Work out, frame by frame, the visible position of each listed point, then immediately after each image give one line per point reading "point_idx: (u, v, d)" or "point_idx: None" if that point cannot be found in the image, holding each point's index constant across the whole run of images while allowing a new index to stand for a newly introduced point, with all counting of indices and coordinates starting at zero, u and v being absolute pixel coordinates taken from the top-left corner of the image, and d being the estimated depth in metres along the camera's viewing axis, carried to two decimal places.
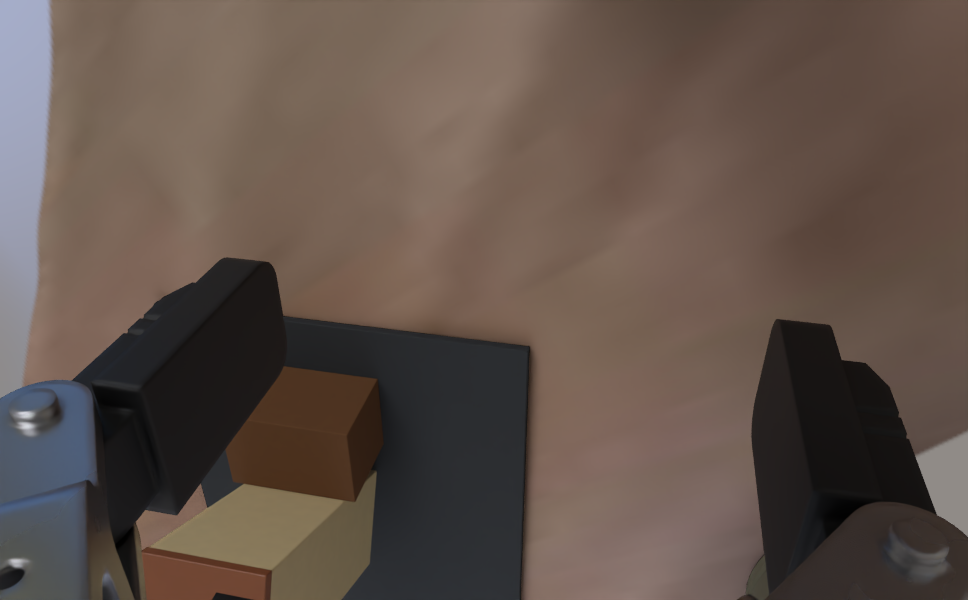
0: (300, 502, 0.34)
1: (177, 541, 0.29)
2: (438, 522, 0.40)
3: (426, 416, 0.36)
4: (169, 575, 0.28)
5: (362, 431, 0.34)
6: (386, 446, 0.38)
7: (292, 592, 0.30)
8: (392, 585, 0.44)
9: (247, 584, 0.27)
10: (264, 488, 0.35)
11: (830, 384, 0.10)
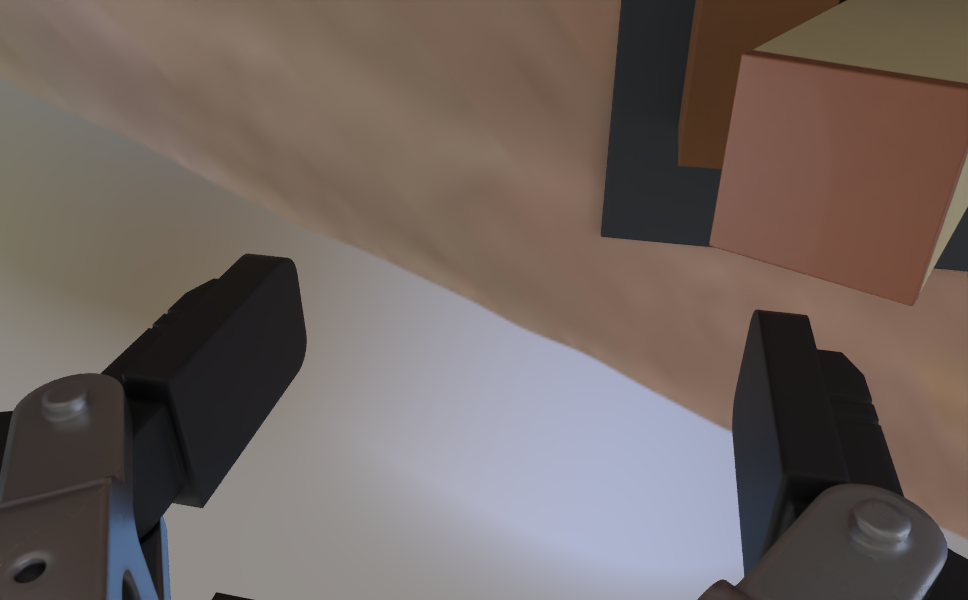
0: None
1: None
2: None
3: None
4: (741, 208, 0.19)
5: None
6: None
7: (853, 45, 0.19)
8: None
9: (754, 86, 0.18)
10: None
11: (804, 372, 0.10)
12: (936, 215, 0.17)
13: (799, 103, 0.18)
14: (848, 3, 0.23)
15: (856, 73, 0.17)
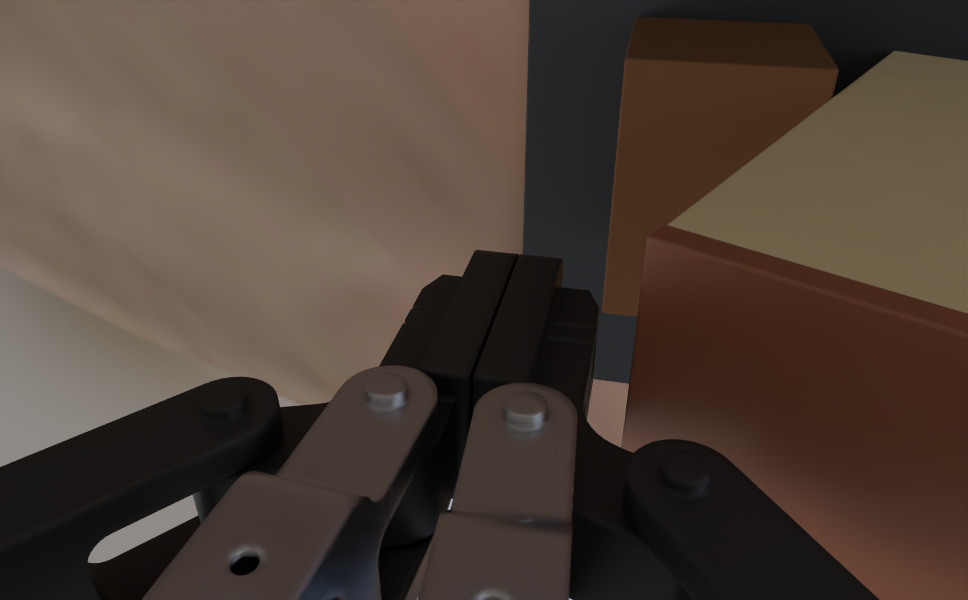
0: None
1: None
2: None
3: None
4: None
5: (683, 42, 0.16)
6: (819, 18, 0.18)
7: (853, 209, 0.10)
8: None
9: (671, 294, 0.10)
10: None
11: (533, 301, 0.11)
12: None
13: (751, 337, 0.09)
14: (847, 96, 0.15)
15: (857, 305, 0.08)
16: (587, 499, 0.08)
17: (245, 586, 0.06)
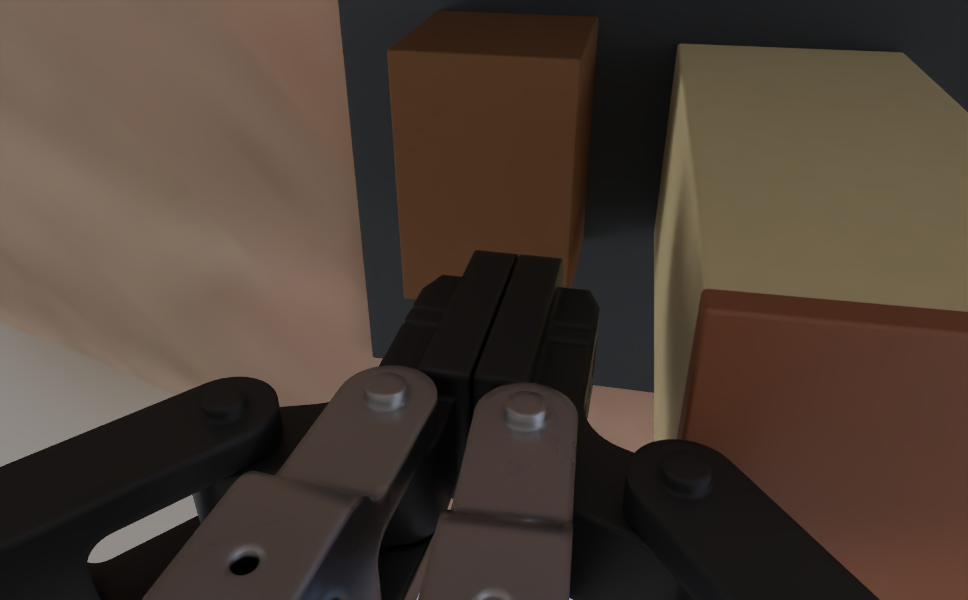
0: (673, 202, 0.15)
1: None
2: None
3: None
4: None
5: (457, 34, 0.17)
6: (606, 11, 0.18)
7: (840, 223, 0.10)
8: None
9: (737, 367, 0.08)
10: (659, 278, 0.16)
11: (534, 301, 0.11)
12: None
13: (836, 393, 0.08)
14: (696, 98, 0.15)
15: (963, 338, 0.08)
16: (587, 499, 0.08)
17: (245, 586, 0.06)
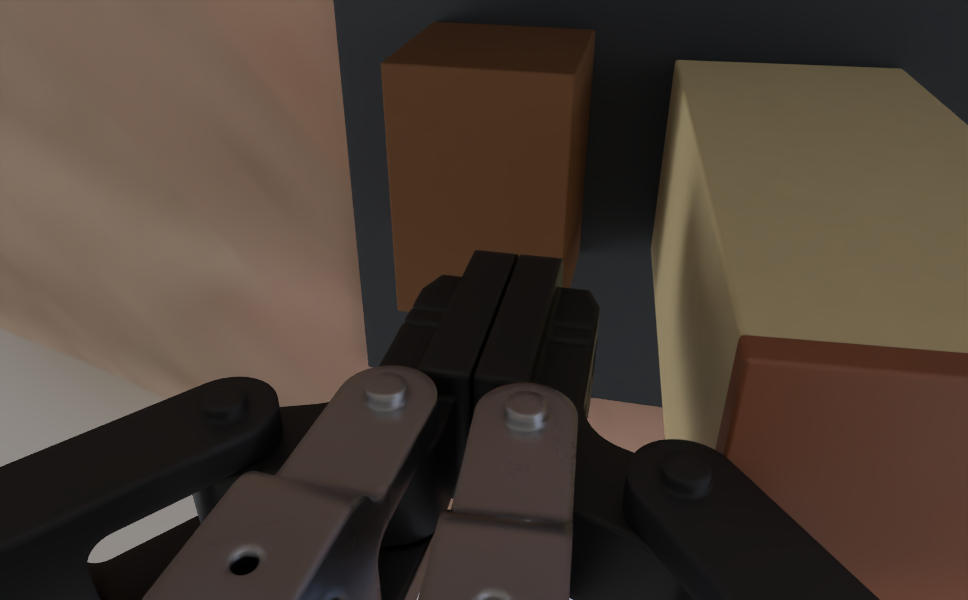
0: (681, 226, 0.14)
1: None
2: None
3: None
4: None
5: (452, 47, 0.17)
6: (603, 24, 0.18)
7: (870, 259, 0.10)
8: None
9: (777, 417, 0.08)
10: (664, 301, 0.16)
11: (534, 302, 0.11)
12: None
13: (881, 442, 0.08)
14: (702, 119, 0.14)
15: None
16: (588, 499, 0.08)
17: (245, 586, 0.06)
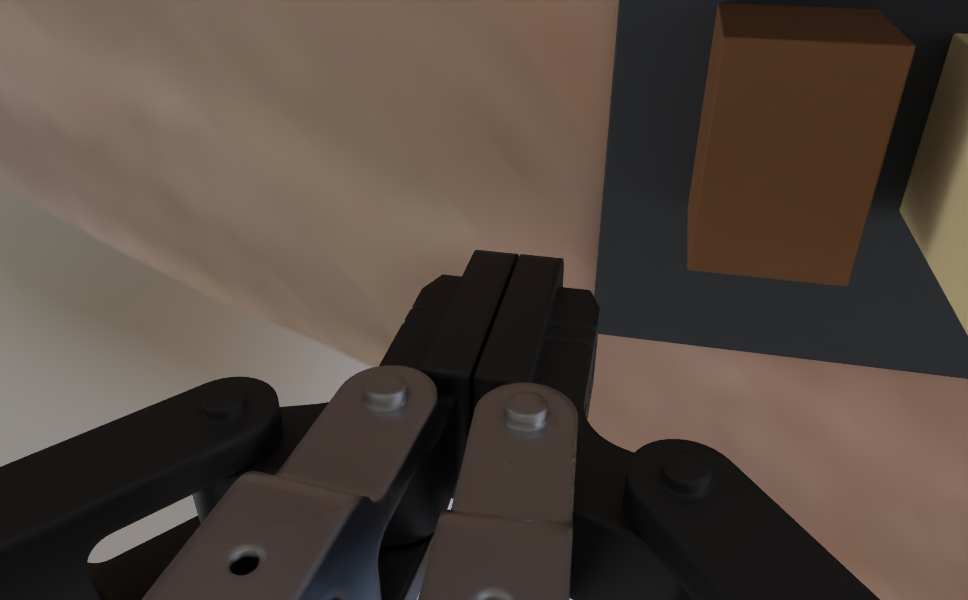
0: None
1: None
2: None
3: None
4: None
5: (769, 23, 0.18)
6: (887, 4, 0.20)
7: None
8: None
9: None
10: (955, 246, 0.18)
11: (534, 302, 0.11)
12: None
13: None
14: None
15: None
16: (588, 499, 0.08)
17: (245, 586, 0.06)
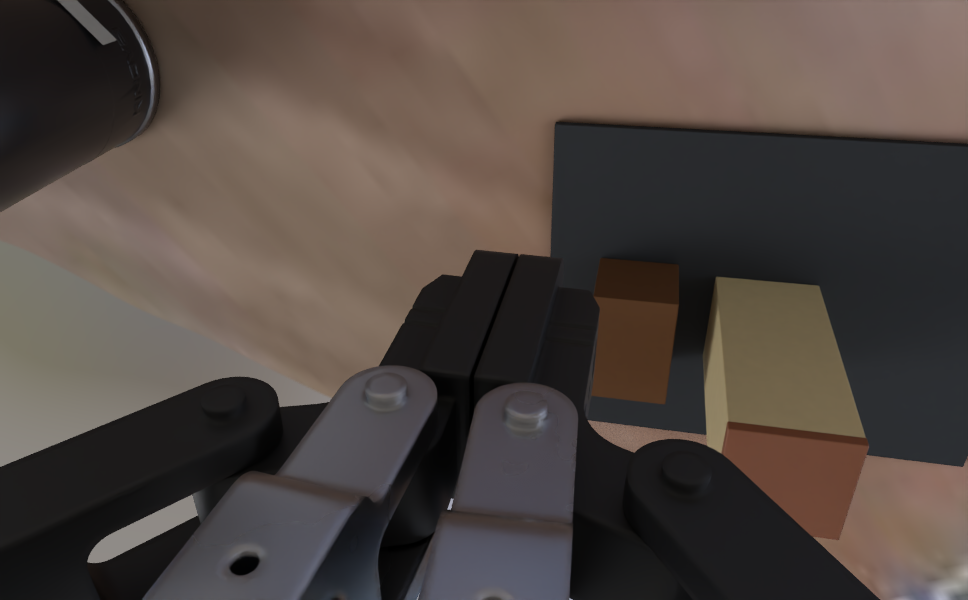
0: (715, 364, 0.36)
1: None
2: (790, 225, 0.37)
3: (640, 220, 0.39)
4: None
5: (619, 282, 0.38)
6: (682, 262, 0.39)
7: (772, 395, 0.31)
8: (903, 288, 0.38)
9: (737, 444, 0.30)
10: (708, 389, 0.38)
11: (534, 302, 0.11)
12: (848, 499, 0.30)
13: (766, 452, 0.30)
14: (724, 322, 0.36)
15: (798, 438, 0.29)
16: (588, 499, 0.08)
17: (245, 586, 0.06)
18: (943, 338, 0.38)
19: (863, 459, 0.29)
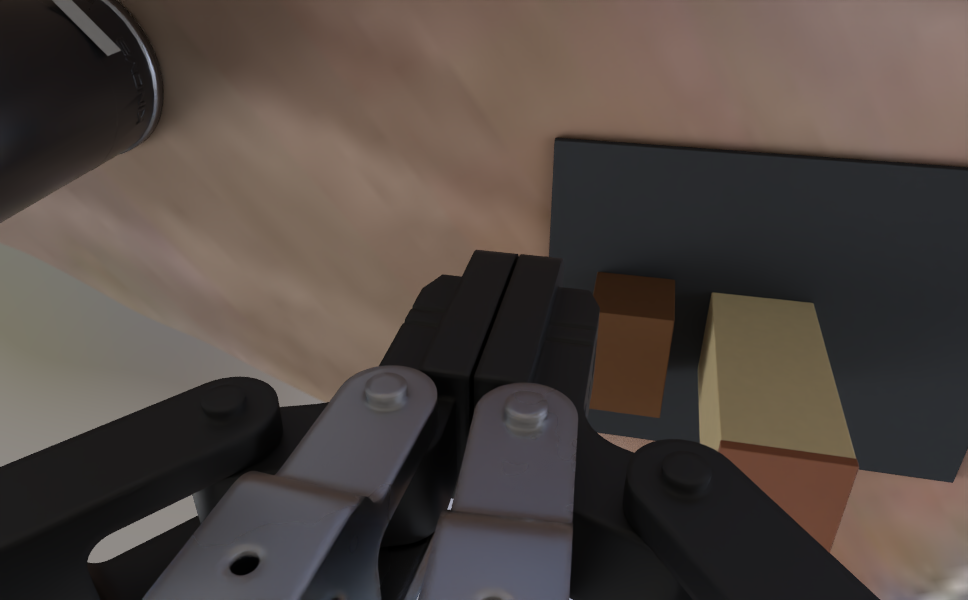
0: (709, 380, 0.36)
1: None
2: (785, 243, 0.38)
3: (637, 236, 0.39)
4: None
5: (615, 297, 0.38)
6: (678, 277, 0.40)
7: (764, 414, 0.31)
8: (896, 307, 0.38)
9: None
10: (702, 404, 0.38)
11: (534, 302, 0.11)
12: (838, 517, 0.30)
13: (758, 470, 0.30)
14: (719, 339, 0.36)
15: (790, 458, 0.29)
16: (588, 499, 0.08)
17: (245, 586, 0.06)
18: (935, 357, 0.39)
19: (853, 479, 0.29)
